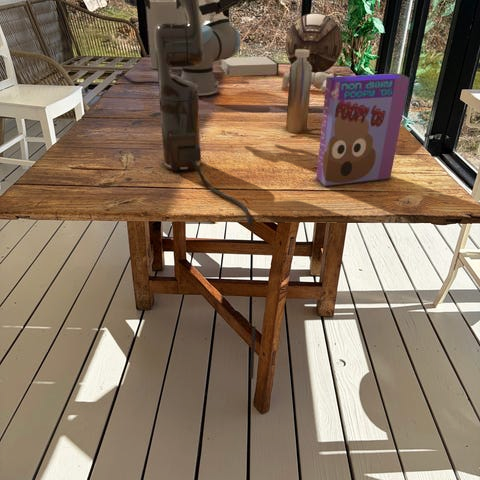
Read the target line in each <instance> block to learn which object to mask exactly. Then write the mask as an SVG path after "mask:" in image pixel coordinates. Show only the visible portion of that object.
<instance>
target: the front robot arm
mask: <svg viewBox="0 0 480 480" xmlns="http://www.w3.org/2000/svg"><path fill="white" fill-rule="evenodd" d="M144 4H145V7H146V8H147V7H148V9H150V0H144ZM181 6H182V8H183V11H184V13H185V17H186V21H187V23H162V24H158V25H157V26H156V27H155V31H154V45H155V53H156V61H157V69H156V70H157V78H158V82H159V84H158V96H159V111H160V123H161V124H160V125H161V138H162V139H161V140H162V151H163V166H164V167H165V168H166V169H168V170H170V171H171V172H187V171H196V173H197V174H198V177H199V178H200V180H201V181H202V183H203V184H204V185H205V187H206V188H207V189H208V190H210V191H211V192H212V193H214V194H215V195H218V196H219V197H220V198H222V199H225V200H227V201H229V202H231V203H234V204H235V205H237V206H238V207H239V208H240V209H242V211H243V212H244V213H245V217H246V219H247V223H248V226H249V227H254V224H253V221H252V217H251V214H250V211H249V209H248V208H247V206H245V205H244V204H243V203H242V202H240V201H239V200H237V199H235V198H233V197H231V196H228V195H226V194H224V193H222V192H221V191H219V190H217V189H216V188H215V187H212V186H211V185H210V184H209V182H207V180H206V178H205V176H204V175H203V173H202V171H201V169H200V168H199V167H200V166H201V165H202V162H201V161H202V157H201V156H202V155H201V142H200V113H199V110H200V108H199V98H198V87H197V85H196V84H195V83H194V82H192V81H189V80H186V79H183V78H181V76H178V75H177V74H175V73H174V72H173V71H172V69H171V68H172V67H196V66H200V65H201V63H202V61H203V52H204V49H203V36H202V27H201V25H202V20H201V17H200V10H199V1H198V0H176V8H177V9H179V7H181ZM256 329H257V326H256V325H253V326H252V327H251V345H250V368H249V378H250V379H254V371H255V369H254V368H255V367H254V366H255V345H256V344H255V343H256Z"/></svg>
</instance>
